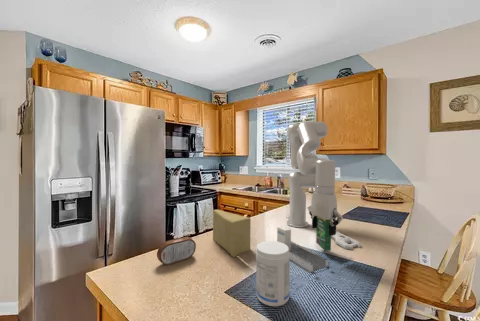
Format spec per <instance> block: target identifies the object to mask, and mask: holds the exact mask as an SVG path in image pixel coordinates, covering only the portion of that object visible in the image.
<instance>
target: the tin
mask: <svg viewBox="0 0 480 321" xmlns="http://www.w3.org/2000/svg"><path fill="white" fill-rule="evenodd" d="M196 249H197V244H196V242H195V240H194V239H193V238H192V237H190V236H184V237H180V238H179V237H178V238H175V239H170V240H167V241H165V242H163V243H162V244H161V245H160V246H159V247H158V248H157V252H156V257H157V260H158V261H159V262H160V263H161V264H163V265H166V266H169V265H172V264H175V263H179V262H182V261H184V260H188V259H190V258H192V256H193V255H194V254H195V252H196Z"/></svg>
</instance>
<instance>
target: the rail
mask: <svg viewBox="0 0 480 321" xmlns="http://www.w3.org/2000/svg"><path fill="white" fill-rule="evenodd" d="M289 262H290V263H292V264H294V265H295V266H297V267H299V268H300V269H302V270H304V271H306V272H307V273H309V275H308V276H309V277H310V276H312V275H314V274H317V273H321V272H323V271H327V270H328V269H330V268H329V264H328V263H329V259H328V258H325V257H324V256H322V255H320V254H318V253H316V252H313V251H312V250H309V249H308V248H305V247H304V246H301V245H300V244H297V243H296V242H294V241H292V240H291V251H289ZM322 269H323V270H322ZM318 270H319V271H318ZM310 273H312V274H310Z"/></svg>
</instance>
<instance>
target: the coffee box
mask: <svg viewBox="0 0 480 321" xmlns="http://www.w3.org/2000/svg"><path fill="white" fill-rule="evenodd" d="M330 225H331V224H330V222H329V220H326V219H323V218H320V217H317V228H316V236H315V239H316V241H315V243H316V244H317V245H318V246H319V247H320V248H322V250H324V252H330V251H332V247H331V246H332V237H331V236H330V235H329V226H330Z"/></svg>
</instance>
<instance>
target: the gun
mask: <svg viewBox="0 0 480 321" xmlns="http://www.w3.org/2000/svg"><path fill="white" fill-rule="evenodd" d="M332 238H333V240H335V242H334V243H335V244H336V245H338V246H340V248H343V249H344V250H345V249H346V250H350V251H352V250H354V247H356V248H360V247H361V244H362V243H361V242H359V241H358V240H356V239H354V238H352V237H350V236H349V235H345V234H343V233H341V232H339V231H338V230H336V234H335V235H332V236H331V239H332Z"/></svg>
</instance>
